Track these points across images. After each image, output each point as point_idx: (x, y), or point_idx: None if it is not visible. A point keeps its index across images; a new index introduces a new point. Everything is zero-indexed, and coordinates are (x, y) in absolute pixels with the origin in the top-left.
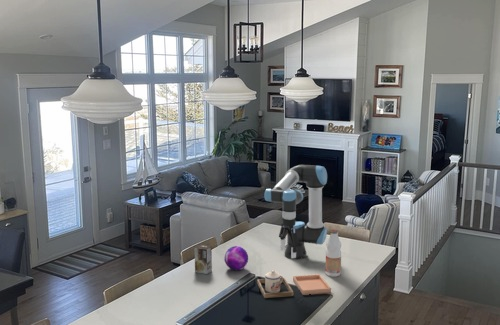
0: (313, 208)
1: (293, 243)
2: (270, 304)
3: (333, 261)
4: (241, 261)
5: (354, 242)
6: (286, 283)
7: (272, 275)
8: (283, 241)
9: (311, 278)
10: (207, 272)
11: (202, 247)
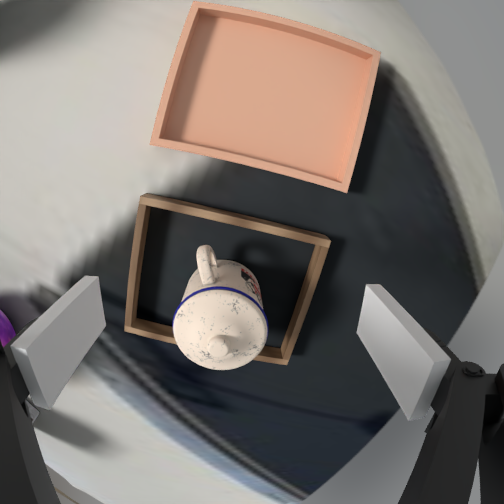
0: None
1: (482, 449)
2: (344, 352)
3: None
4: None
5: None
6: (216, 220)
7: (244, 351)
8: (49, 363)
9: (188, 47)
10: (36, 414)
11: None
